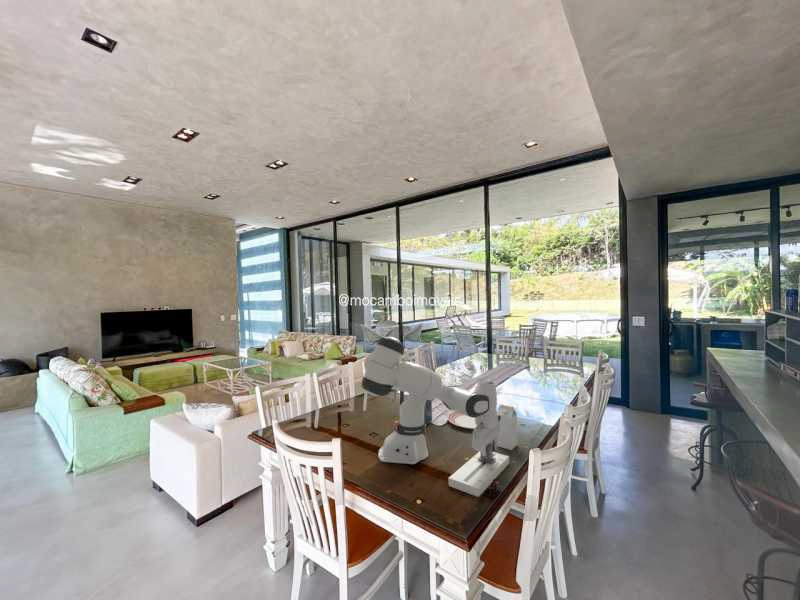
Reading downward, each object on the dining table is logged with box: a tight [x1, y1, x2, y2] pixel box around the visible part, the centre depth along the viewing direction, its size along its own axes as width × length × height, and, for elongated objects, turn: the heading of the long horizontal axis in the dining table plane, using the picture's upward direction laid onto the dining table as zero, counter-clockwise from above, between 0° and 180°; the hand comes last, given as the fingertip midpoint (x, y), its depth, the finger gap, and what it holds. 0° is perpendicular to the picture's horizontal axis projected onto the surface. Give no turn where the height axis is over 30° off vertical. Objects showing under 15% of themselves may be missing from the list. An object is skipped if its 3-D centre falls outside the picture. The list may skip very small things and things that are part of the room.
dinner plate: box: [447, 411, 477, 430], centre depth 190 cm, size 28×27×3 cm
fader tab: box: [478, 444, 496, 464], centre depth 139 cm, size 4×6×6 cm
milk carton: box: [496, 404, 518, 451], centre depth 160 cm, size 7×7×19 cm
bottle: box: [424, 400, 433, 424], centre depth 195 cm, size 10×10×30 cm
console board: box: [448, 451, 510, 498], centre depth 135 cm, size 30×12×3 cm, turn 142°
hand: (486, 453), depth 139 cm, fingers closed on fader tab, 3 cm apart
